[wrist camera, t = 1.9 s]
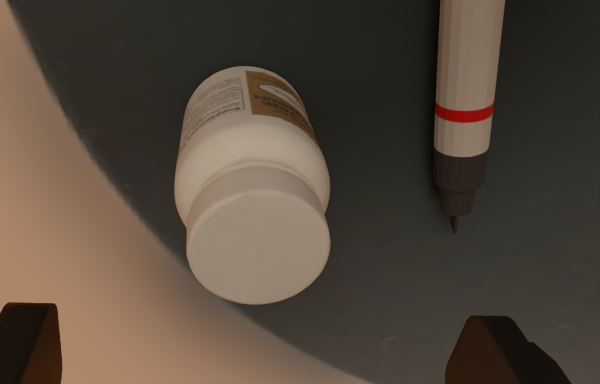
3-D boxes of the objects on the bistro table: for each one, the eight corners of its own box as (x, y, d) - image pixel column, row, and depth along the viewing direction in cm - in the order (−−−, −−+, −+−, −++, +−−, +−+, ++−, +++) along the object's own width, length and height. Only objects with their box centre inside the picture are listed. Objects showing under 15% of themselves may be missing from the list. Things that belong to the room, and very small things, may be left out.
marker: (440, -235, 14) (471, -252, 12) (508, -242, 14) (549, -259, 12) (423, 219, 22) (440, 247, 20) (466, 212, 22) (487, 239, 20)
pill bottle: (326, 135, 19) (382, 265, 13) (231, 193, 20) (237, 344, 13) (263, 37, 17) (290, 134, 10) (158, 107, 18) (123, 237, 11)
